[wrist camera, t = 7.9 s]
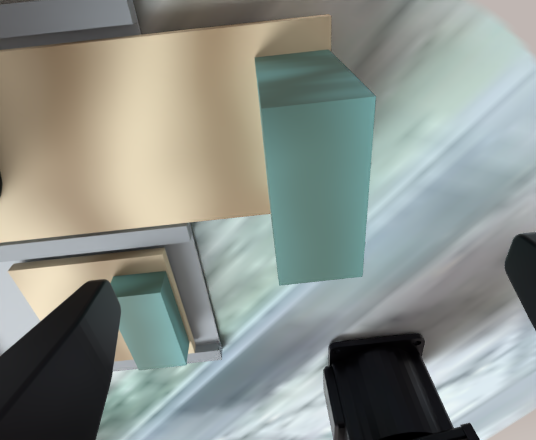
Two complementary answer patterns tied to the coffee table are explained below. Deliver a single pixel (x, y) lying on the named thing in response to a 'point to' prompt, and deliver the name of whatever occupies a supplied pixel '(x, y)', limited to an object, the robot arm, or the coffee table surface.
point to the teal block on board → (192, 138)
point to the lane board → (169, 236)
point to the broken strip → (80, 271)
